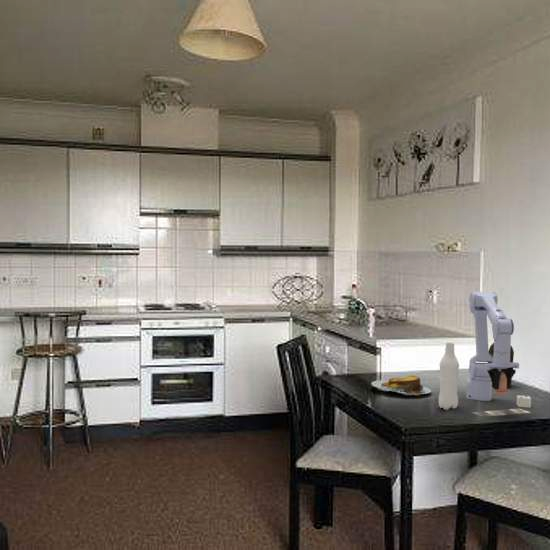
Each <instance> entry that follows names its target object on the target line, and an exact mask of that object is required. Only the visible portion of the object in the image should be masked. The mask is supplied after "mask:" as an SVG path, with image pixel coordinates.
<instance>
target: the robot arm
mask: <svg viewBox="0 0 550 550" xmlns="http://www.w3.org/2000/svg"><path fill="white" fill-rule="evenodd" d="M468 301H469V312H470V313H471V314H473V317H474V333H475V336H474V337H475V352H476V353H475V355H474V356H472V357H471V358H470V360H469V367H468V374H469V376H470V377H468V378H467V382H466V396H465V397H466V399H469V400H476V401H482V402H483V401H484V402H490V401H491V400H492V396H493V395H492V391H493V390H492V389H494V390H495V389H499V380H500V376H501V373H502V372H503V373H505V375H506V378H507V390H508V389H509V385H510V382H511V379H513V377H514V375H515V374H516V369H520V362H514V361H513V362H510V347H511V346H512V345H511V342H512V341H511V340H512V335H513V334H514V331H515V323H514V321H513V319H512V318H507V316H506V314H505V312H504V311H503V310H502V308H499V306H498V294H497V293H496V292H495V291H471V292H470V294H469V298H468ZM488 319H489V321H490V324H491V329H492V339H493V343H494V358H493V357H491V356H490V355H489V331H488V330H489V329H488ZM498 369H501V371H502V372H500V371H499V370H498ZM511 383H512V382H511ZM492 385H493V387H492Z"/></svg>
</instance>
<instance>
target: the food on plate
mask: <svg viewBox="0 0 550 550" xmlns="http://www.w3.org/2000/svg"><path fill="white" fill-rule="evenodd" d="M371 386H372V387H374V388H377V390H379V391H383V392H387V393H388V392H389V391H390V392H393V393H394V392H395V393H397V394H401V395H403V396H420V395H425V394H426V395H427V394H430V393H432V390H431V389H430V388H428V387H426V386H423V385H422V384H421V378H420V376H416V375H409V376H406V377H401V378H400V377H392V378H389V380H383V379H381V380H375V381H372V382H371ZM420 391H425V393H422V392H420ZM419 392H420V393H419ZM418 393H419V394H418Z"/></svg>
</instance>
